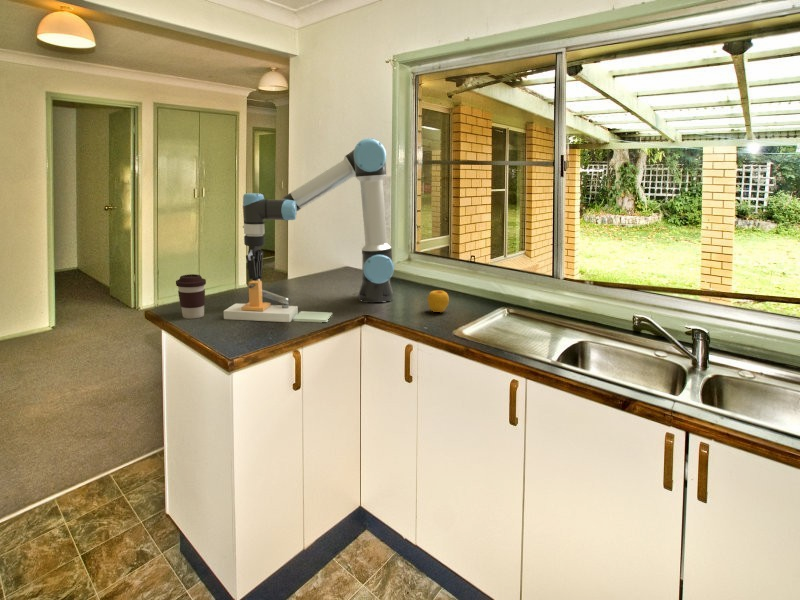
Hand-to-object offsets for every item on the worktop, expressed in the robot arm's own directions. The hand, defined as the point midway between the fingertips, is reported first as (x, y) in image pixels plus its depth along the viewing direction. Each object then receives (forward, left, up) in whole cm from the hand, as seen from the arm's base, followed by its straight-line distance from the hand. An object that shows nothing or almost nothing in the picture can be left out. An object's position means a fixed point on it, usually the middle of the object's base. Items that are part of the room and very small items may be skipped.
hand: (256, 295), depth 196 cm
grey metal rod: (-8, +4, 0) cm, 8 cm away
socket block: (-6, +12, -5) cm, 15 cm away
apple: (-71, -5, -5) cm, 71 cm away
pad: (-25, +11, -5) cm, 28 cm away
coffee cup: (+18, +16, -5) cm, 25 cm away
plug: (-4, +12, -5) cm, 14 cm away
